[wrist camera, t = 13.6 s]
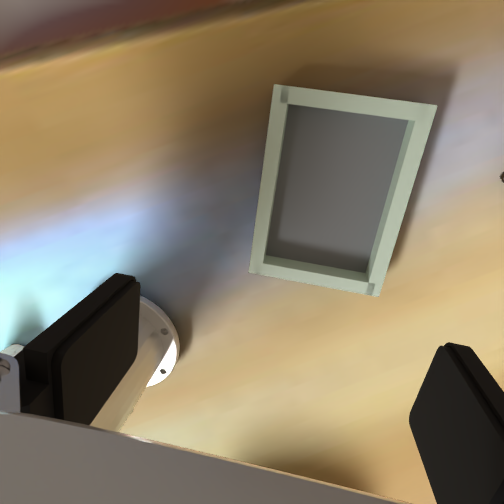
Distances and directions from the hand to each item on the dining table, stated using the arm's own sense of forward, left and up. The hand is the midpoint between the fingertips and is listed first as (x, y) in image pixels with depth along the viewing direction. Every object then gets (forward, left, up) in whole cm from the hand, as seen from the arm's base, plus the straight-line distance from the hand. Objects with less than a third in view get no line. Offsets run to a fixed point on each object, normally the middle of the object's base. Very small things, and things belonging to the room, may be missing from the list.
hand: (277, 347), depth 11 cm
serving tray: (0, -3, -23) cm, 23 cm away
